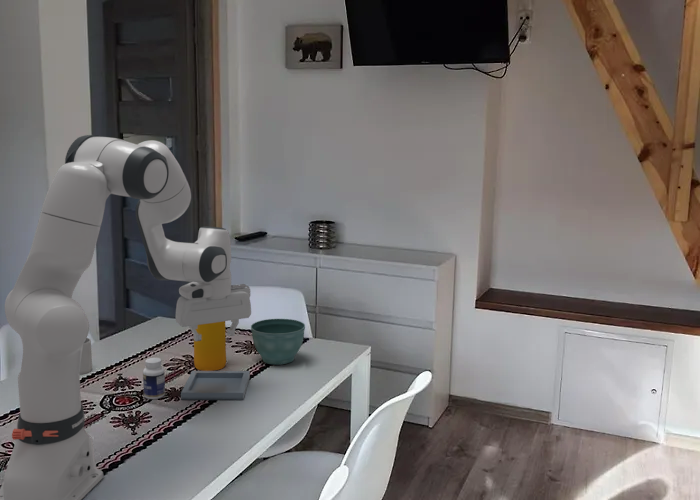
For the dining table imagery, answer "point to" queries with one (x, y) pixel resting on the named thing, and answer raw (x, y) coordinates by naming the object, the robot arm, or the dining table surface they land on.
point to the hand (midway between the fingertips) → (214, 338)
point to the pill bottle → (153, 379)
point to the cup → (86, 357)
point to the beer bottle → (210, 347)
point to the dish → (216, 385)
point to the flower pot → (278, 339)
